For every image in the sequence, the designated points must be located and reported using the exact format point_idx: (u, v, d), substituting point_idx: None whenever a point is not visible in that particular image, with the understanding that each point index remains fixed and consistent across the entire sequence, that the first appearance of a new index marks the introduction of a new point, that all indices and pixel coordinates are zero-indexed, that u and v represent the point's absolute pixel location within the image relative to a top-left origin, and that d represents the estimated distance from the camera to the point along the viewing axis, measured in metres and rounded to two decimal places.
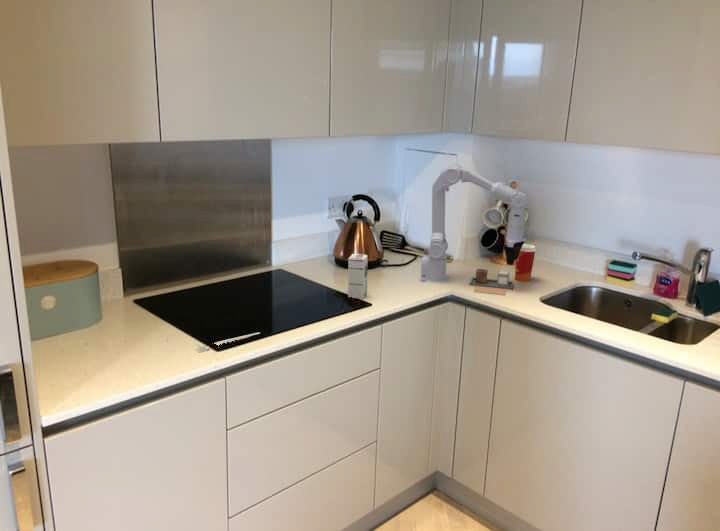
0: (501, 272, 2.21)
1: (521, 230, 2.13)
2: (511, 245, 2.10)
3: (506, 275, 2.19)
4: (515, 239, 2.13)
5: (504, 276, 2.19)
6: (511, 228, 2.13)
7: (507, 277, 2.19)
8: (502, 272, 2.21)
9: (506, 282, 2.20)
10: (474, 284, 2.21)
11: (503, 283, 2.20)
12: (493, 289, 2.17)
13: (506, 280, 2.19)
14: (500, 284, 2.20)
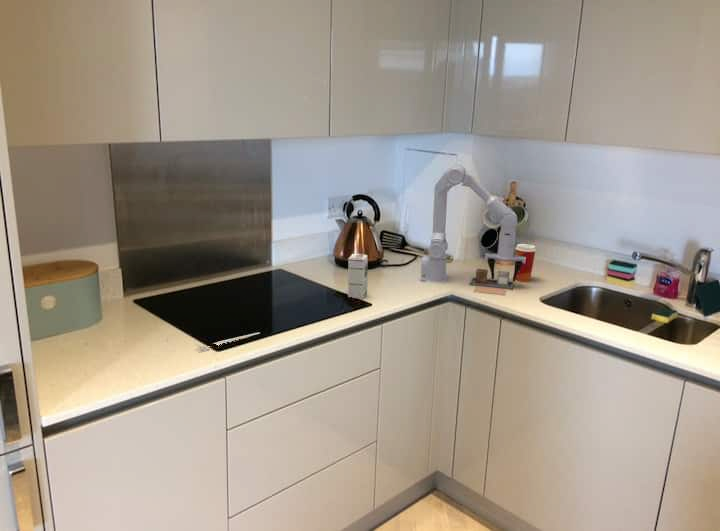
0: (501, 272, 2.21)
1: (501, 248, 2.16)
2: (485, 257, 2.21)
3: (506, 275, 2.19)
4: (497, 255, 2.19)
5: (504, 276, 2.19)
6: None
7: (507, 277, 2.19)
8: (502, 272, 2.21)
9: (506, 282, 2.20)
10: (474, 284, 2.21)
11: (503, 283, 2.20)
12: (493, 289, 2.17)
13: (506, 280, 2.19)
14: (500, 284, 2.20)
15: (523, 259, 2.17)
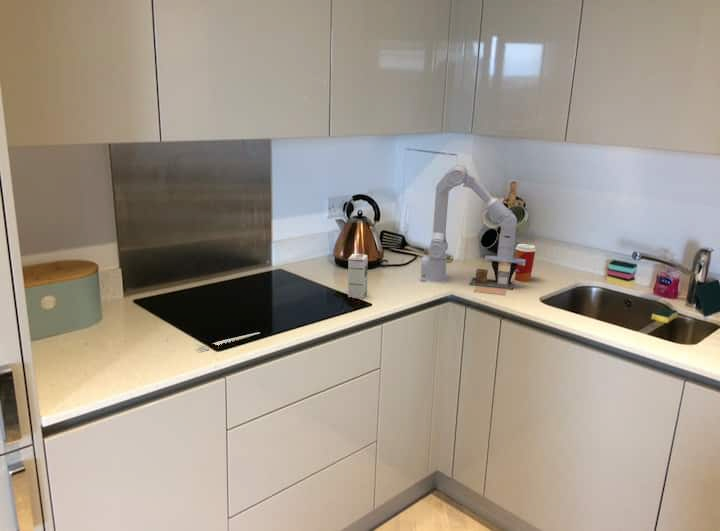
0: (501, 272, 2.21)
1: (501, 250, 2.17)
2: None
3: (506, 275, 2.19)
4: (497, 257, 2.19)
5: (504, 276, 2.19)
6: None
7: (507, 277, 2.19)
8: (502, 272, 2.21)
9: (506, 282, 2.20)
10: (474, 284, 2.21)
11: (503, 283, 2.20)
12: (493, 289, 2.17)
13: (506, 280, 2.19)
14: (500, 284, 2.20)
15: (523, 261, 2.17)
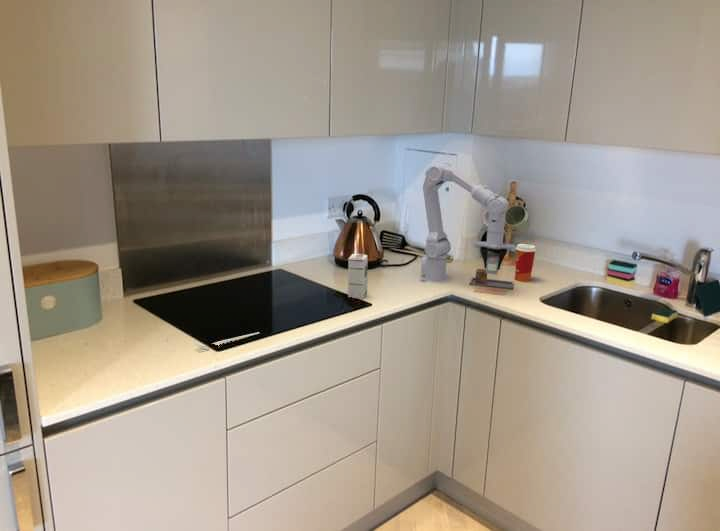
0: (490, 258, 2.13)
1: (490, 235, 2.08)
2: (473, 245, 2.13)
3: (495, 261, 2.11)
4: (486, 243, 2.11)
5: (493, 262, 2.11)
6: None
7: (496, 263, 2.11)
8: (491, 258, 2.13)
9: (495, 269, 2.11)
10: (474, 284, 2.21)
11: (493, 270, 2.12)
12: (493, 289, 2.17)
13: (495, 266, 2.11)
14: (489, 271, 2.12)
15: (512, 247, 2.09)
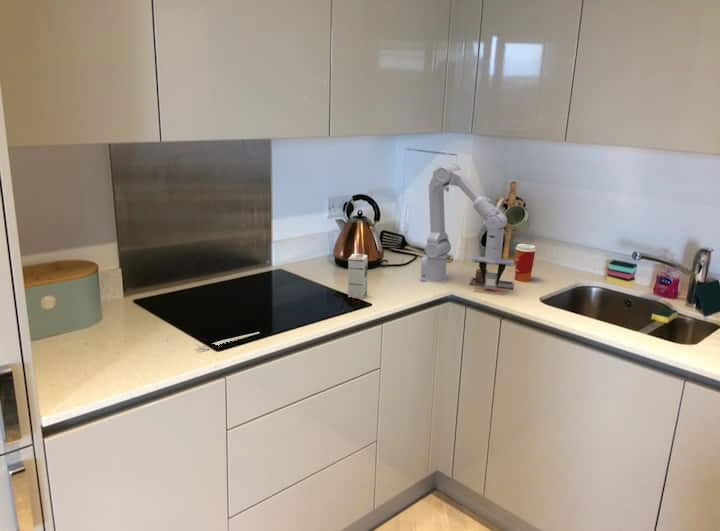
0: (489, 273, 2.14)
1: (489, 251, 2.10)
2: (472, 260, 2.14)
3: (494, 276, 2.12)
4: (484, 258, 2.13)
5: (491, 277, 2.12)
6: None
7: (495, 278, 2.12)
8: (490, 273, 2.14)
9: (494, 284, 2.13)
10: (474, 284, 2.21)
11: (491, 285, 2.13)
12: (493, 289, 2.17)
13: (494, 282, 2.13)
14: (487, 286, 2.14)
15: (511, 262, 2.10)
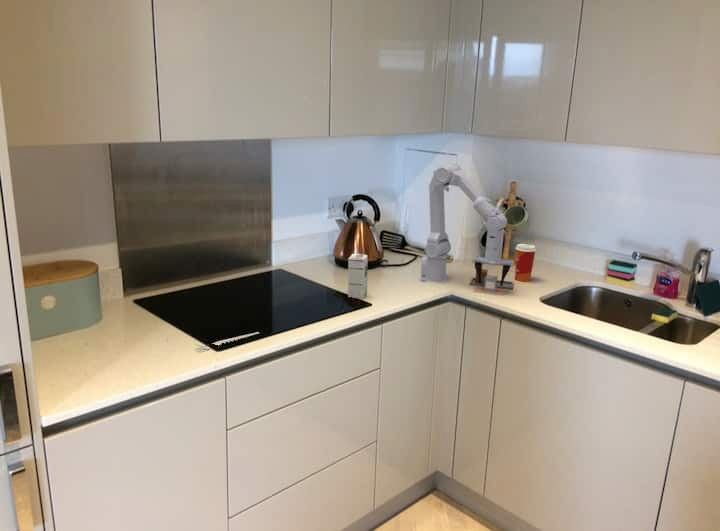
0: (488, 276, 2.15)
1: (489, 251, 2.10)
2: (472, 261, 2.15)
3: (493, 279, 2.13)
4: (484, 259, 2.13)
5: (491, 280, 2.13)
6: None
7: (494, 281, 2.13)
8: (489, 276, 2.15)
9: (494, 287, 2.13)
10: (474, 284, 2.21)
11: (491, 288, 2.14)
12: None
13: (493, 285, 2.13)
14: (487, 289, 2.14)
15: (511, 263, 2.10)
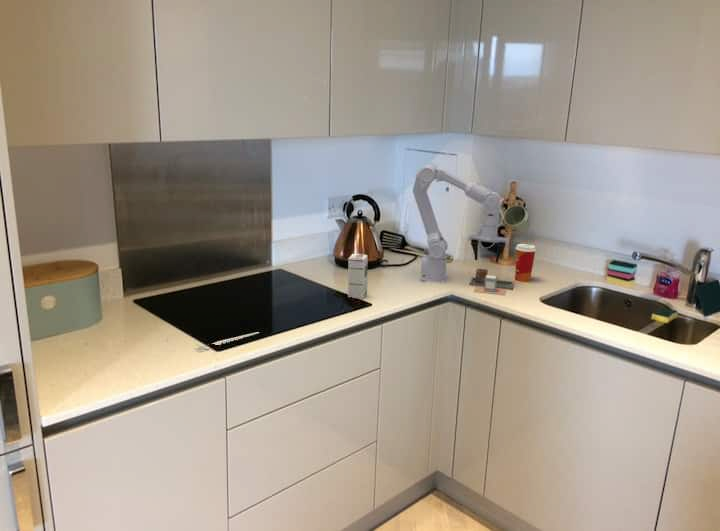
0: (488, 276, 2.15)
1: (484, 229, 2.16)
2: (468, 238, 2.21)
3: (493, 279, 2.13)
4: (480, 236, 2.19)
5: (491, 280, 2.13)
6: None
7: (494, 281, 2.13)
8: (489, 276, 2.15)
9: (494, 287, 2.13)
10: (474, 284, 2.21)
11: (491, 288, 2.14)
12: None
13: (493, 285, 2.13)
14: (487, 289, 2.14)
15: (506, 240, 2.16)
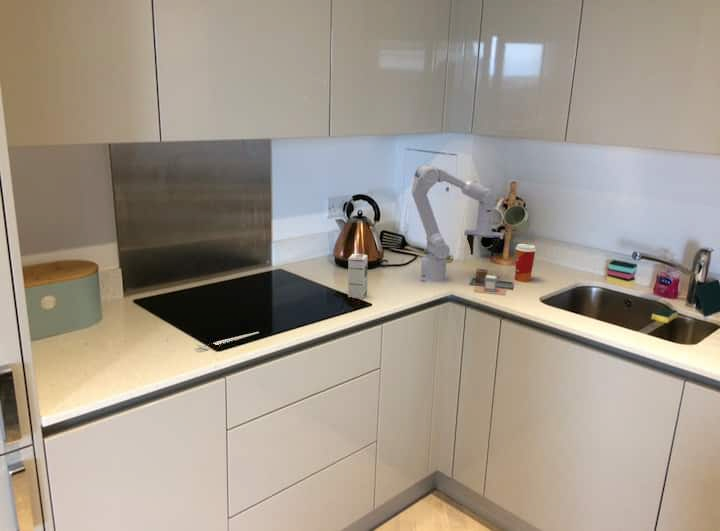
0: (488, 276, 2.15)
1: (480, 224, 2.24)
2: (464, 233, 2.28)
3: (493, 279, 2.13)
4: (476, 231, 2.26)
5: (491, 280, 2.13)
6: None
7: (494, 281, 2.13)
8: (489, 276, 2.15)
9: (494, 287, 2.13)
10: (474, 284, 2.21)
11: (491, 288, 2.14)
12: None
13: (493, 285, 2.13)
14: (487, 289, 2.14)
15: (501, 235, 2.24)
